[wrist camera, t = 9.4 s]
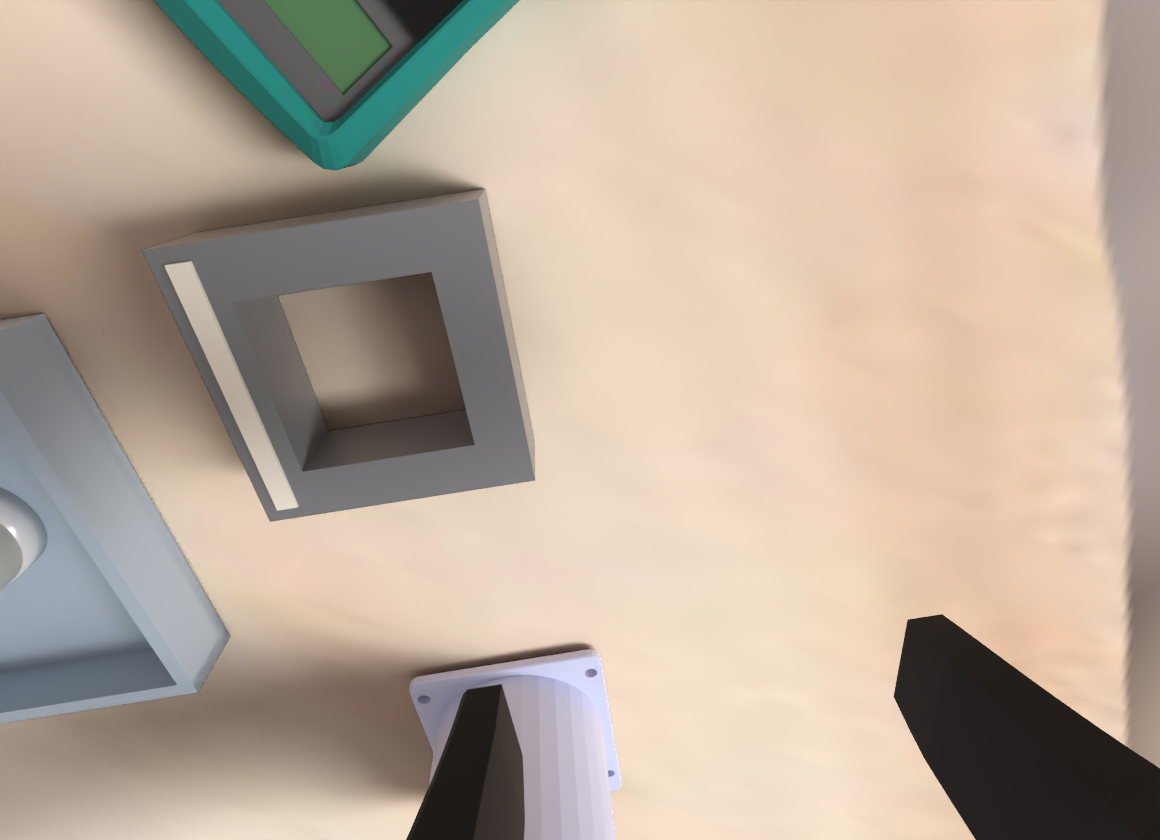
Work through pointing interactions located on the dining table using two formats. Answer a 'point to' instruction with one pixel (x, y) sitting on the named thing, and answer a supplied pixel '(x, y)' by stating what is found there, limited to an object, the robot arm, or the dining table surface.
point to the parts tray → (88, 553)
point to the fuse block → (279, 379)
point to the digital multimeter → (334, 61)
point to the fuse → (18, 537)
